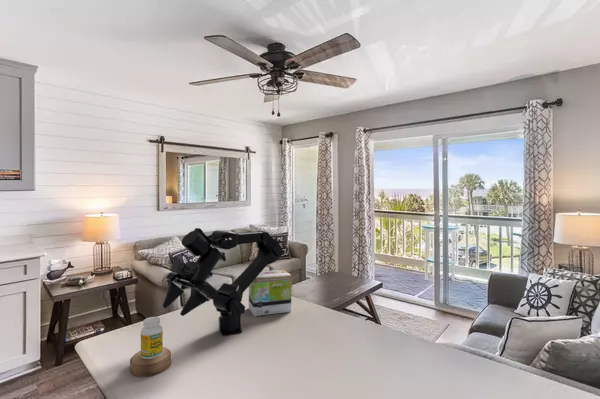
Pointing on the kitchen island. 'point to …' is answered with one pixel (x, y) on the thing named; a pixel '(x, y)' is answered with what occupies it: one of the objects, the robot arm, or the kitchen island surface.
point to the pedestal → (150, 364)
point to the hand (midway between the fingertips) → (172, 311)
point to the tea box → (270, 293)
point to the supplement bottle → (151, 338)
